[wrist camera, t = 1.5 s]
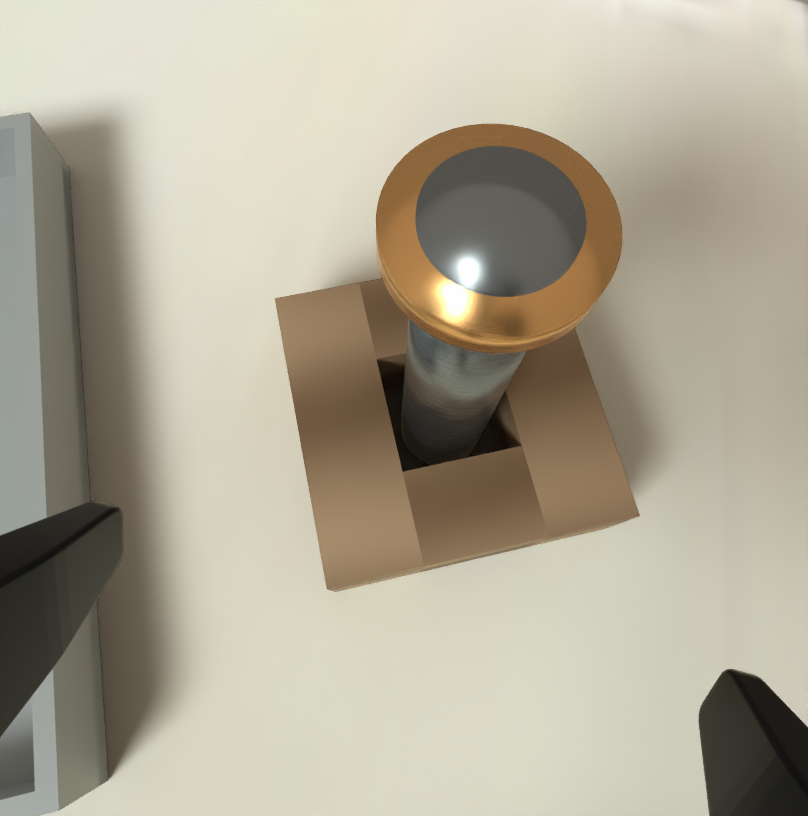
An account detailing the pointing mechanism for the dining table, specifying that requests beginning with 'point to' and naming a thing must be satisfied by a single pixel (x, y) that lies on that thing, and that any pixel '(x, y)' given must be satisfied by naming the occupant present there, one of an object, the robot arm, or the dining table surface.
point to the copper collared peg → (487, 268)
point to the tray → (44, 460)
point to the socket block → (447, 482)
